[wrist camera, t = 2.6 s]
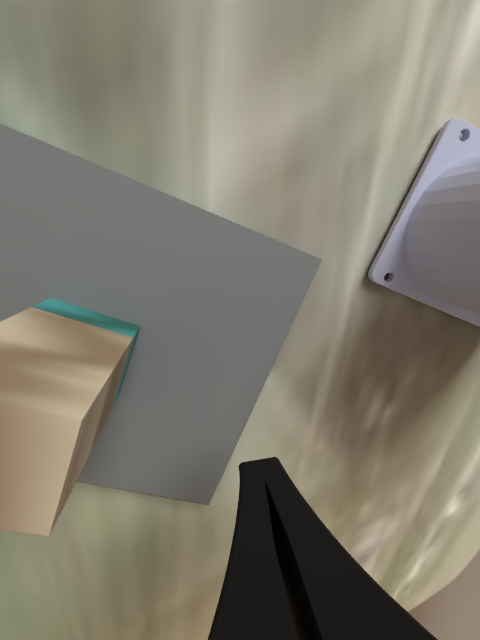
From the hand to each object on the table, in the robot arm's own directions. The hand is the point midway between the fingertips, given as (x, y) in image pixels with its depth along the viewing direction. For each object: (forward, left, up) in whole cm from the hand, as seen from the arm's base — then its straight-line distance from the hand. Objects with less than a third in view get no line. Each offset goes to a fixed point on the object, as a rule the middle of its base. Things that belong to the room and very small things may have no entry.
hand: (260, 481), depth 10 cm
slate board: (+10, 0, -7) cm, 12 cm away
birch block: (+8, 0, -6) cm, 10 cm away
